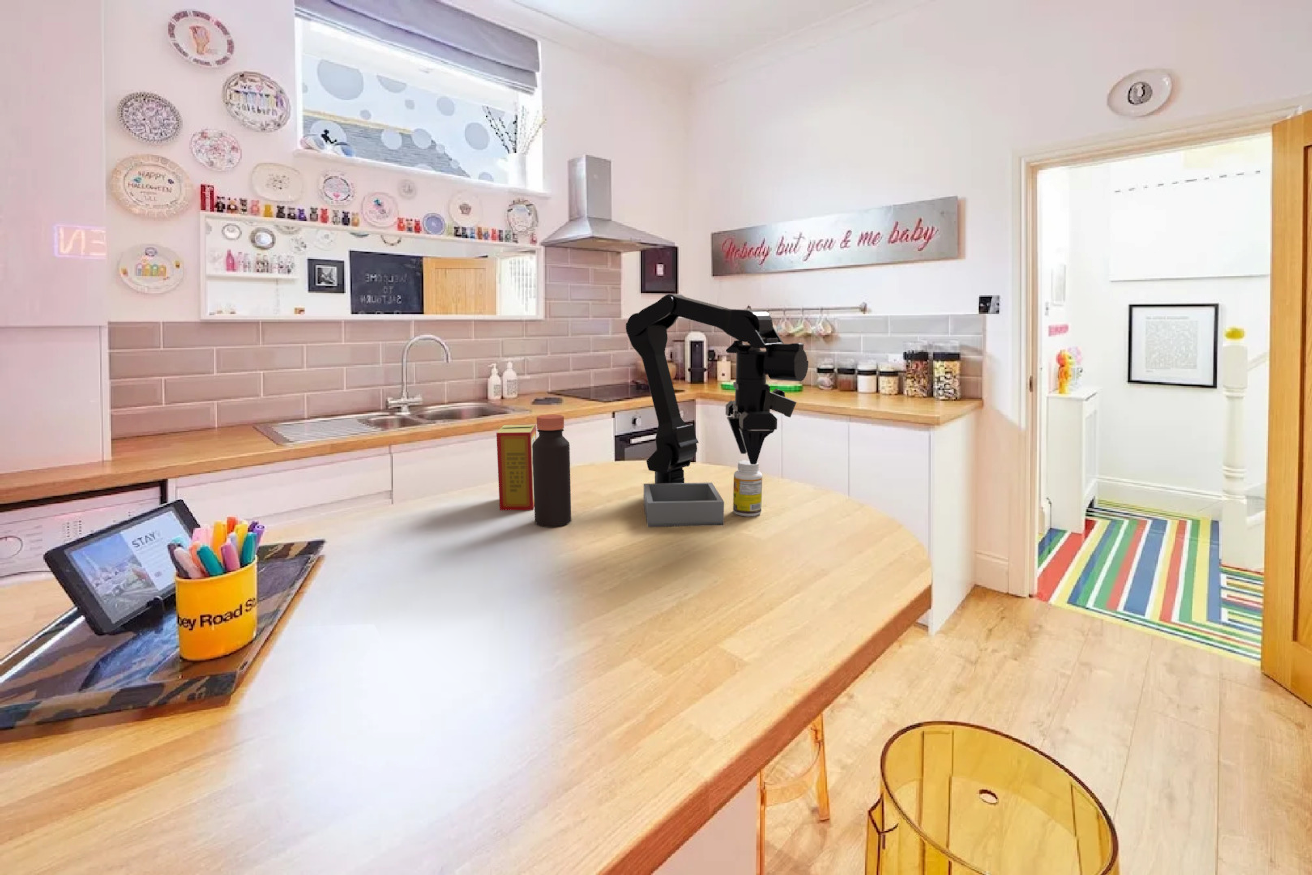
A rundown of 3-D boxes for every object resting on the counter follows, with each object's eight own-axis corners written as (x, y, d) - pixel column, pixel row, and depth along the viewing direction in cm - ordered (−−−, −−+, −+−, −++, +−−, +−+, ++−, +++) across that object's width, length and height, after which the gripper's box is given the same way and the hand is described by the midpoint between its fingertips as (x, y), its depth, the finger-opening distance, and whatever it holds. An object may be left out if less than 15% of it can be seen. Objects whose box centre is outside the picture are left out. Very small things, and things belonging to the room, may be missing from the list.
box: (647, 526, 120) (647, 503, 119) (643, 504, 133) (643, 483, 132) (723, 525, 121) (724, 501, 120) (711, 503, 134) (712, 482, 133)
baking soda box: (533, 509, 130) (530, 430, 127) (499, 510, 130) (496, 431, 127) (538, 496, 139) (535, 422, 136) (507, 497, 139) (504, 423, 136)
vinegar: (568, 528, 119) (565, 419, 115) (531, 527, 119) (527, 419, 115) (573, 516, 125) (571, 413, 122) (538, 516, 126) (535, 413, 122)
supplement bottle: (736, 507, 132) (737, 458, 130) (763, 510, 130) (765, 460, 128) (729, 515, 126) (731, 464, 124) (758, 518, 124) (759, 466, 123)
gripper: (807, 383, 114) (803, 469, 117) (780, 373, 133) (777, 448, 136) (744, 383, 114) (742, 470, 117) (726, 373, 132) (724, 448, 135)
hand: (748, 458), depth 126 cm, fingers open, 9 cm apart
